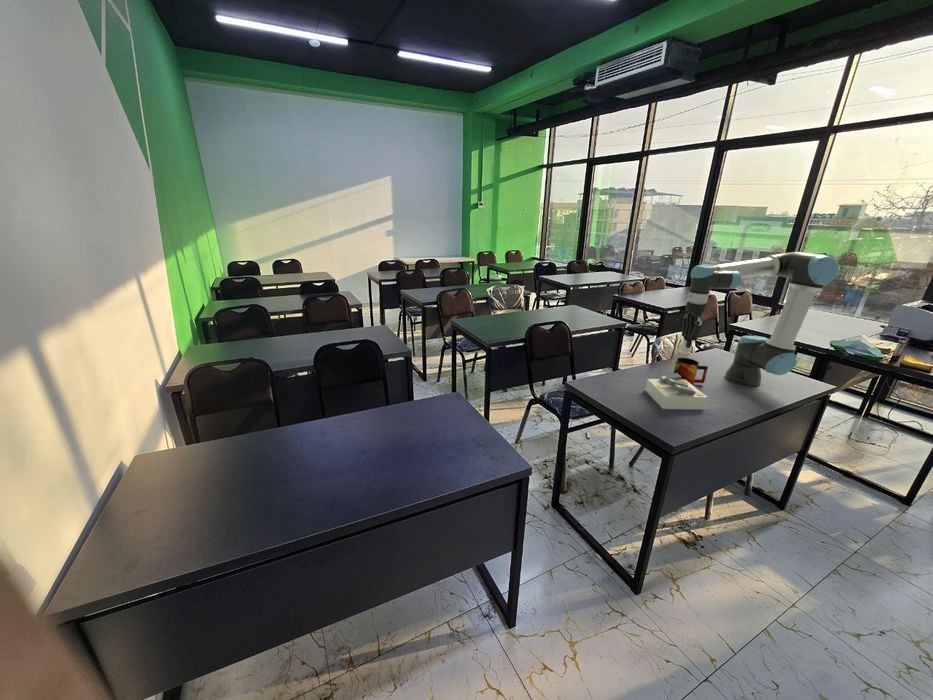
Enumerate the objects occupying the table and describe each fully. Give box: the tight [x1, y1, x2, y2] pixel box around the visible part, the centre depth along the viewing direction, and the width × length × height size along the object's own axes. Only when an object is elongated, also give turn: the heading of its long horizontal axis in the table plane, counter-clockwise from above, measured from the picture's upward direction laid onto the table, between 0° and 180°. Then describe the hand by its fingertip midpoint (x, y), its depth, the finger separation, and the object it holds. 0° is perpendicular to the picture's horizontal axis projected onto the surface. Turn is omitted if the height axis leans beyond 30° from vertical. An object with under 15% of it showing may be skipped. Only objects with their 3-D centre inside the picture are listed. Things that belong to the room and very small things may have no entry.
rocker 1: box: [659, 372, 681, 383], centre depth 182 cm, size 8×4×2 cm, turn 90°
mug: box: [672, 357, 709, 386], centre depth 194 cm, size 10×14×12 cm
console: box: [645, 378, 708, 411], centre depth 178 cm, size 18×18×7 cm
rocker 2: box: [666, 378, 688, 387], centre depth 176 cm, size 8×4×2 cm, turn 91°
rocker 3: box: [672, 384, 696, 395], centre depth 171 cm, size 8×4×2 cm, turn 91°
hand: (684, 353), depth 178 cm, fingers closed
